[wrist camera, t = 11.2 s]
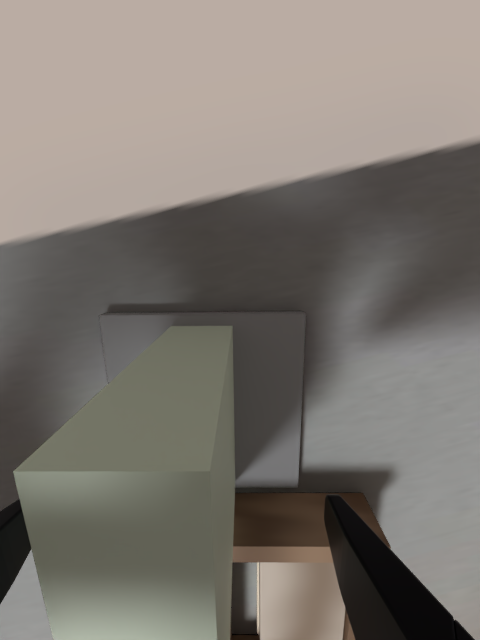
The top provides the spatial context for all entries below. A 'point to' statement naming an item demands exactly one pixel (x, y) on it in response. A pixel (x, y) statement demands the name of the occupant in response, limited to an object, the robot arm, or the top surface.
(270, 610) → the upper offcut
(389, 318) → the top surface
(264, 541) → the rack
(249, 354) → the mat
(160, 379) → the pale green square slab
